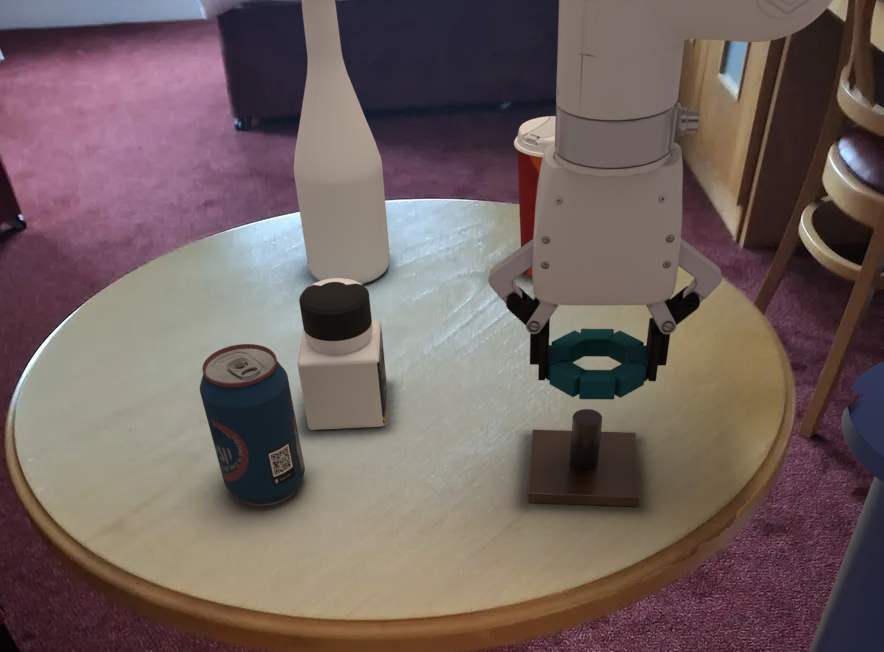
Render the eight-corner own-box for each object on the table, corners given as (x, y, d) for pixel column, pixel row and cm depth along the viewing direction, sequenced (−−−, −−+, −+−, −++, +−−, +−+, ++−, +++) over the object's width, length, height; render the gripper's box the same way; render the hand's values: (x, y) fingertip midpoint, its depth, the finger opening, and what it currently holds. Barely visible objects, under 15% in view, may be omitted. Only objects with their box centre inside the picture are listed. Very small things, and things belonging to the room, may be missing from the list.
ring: (643, 346, 73) (645, 328, 72) (648, 400, 68) (650, 381, 67) (548, 346, 74) (549, 328, 73) (545, 399, 69) (546, 380, 68)
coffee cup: (549, 292, 100) (556, 148, 90) (497, 268, 105) (497, 129, 94) (600, 266, 104) (612, 125, 93) (547, 244, 108) (553, 108, 98)
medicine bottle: (385, 428, 84) (373, 307, 75) (308, 431, 84) (287, 311, 75) (387, 385, 89) (375, 267, 80) (314, 388, 89) (295, 271, 80)
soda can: (211, 485, 79) (177, 363, 70) (277, 451, 82) (252, 330, 74) (256, 522, 75) (225, 398, 67) (323, 485, 78) (302, 362, 70)
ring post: (634, 441, 81) (641, 387, 77) (638, 507, 74) (646, 452, 70) (532, 438, 82) (534, 385, 78) (527, 502, 75) (529, 448, 72)
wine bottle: (326, 248, 110) (285, -50, 89) (400, 254, 108) (377, -50, 87) (297, 285, 104) (246, -27, 83) (376, 292, 102) (344, -26, 81)
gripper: (747, 107, 60) (706, 346, 73) (483, 114, 62) (488, 345, 75) (761, 151, 55) (715, 400, 67) (473, 157, 57) (481, 397, 70)
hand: (596, 370), depth 71 cm, fingers closed on ring, 7 cm apart
